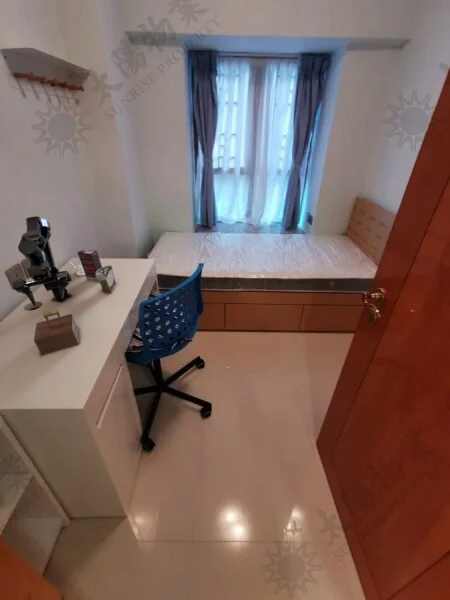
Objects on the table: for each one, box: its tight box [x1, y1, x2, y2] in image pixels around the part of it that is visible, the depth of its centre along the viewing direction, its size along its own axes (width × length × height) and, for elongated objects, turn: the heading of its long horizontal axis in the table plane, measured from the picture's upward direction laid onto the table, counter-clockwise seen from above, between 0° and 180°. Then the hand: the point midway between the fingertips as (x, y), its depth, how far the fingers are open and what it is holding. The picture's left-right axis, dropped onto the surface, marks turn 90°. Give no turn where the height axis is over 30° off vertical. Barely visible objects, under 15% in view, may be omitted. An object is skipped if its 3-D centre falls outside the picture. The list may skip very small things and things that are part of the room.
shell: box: [69, 255, 86, 276], centre depth 153 cm, size 9×12×9 cm
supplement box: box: [76, 248, 103, 283], centre depth 144 cm, size 9×5×16 cm, turn 71°
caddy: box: [34, 317, 80, 356], centre depth 105 cm, size 10×12×6 cm
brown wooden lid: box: [33, 309, 74, 343], centre depth 103 cm, size 11×12×5 cm
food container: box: [96, 264, 117, 294], centre depth 136 cm, size 12×6×10 cm, turn 5°
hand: (48, 302), depth 106 cm, fingers open, 9 cm apart
